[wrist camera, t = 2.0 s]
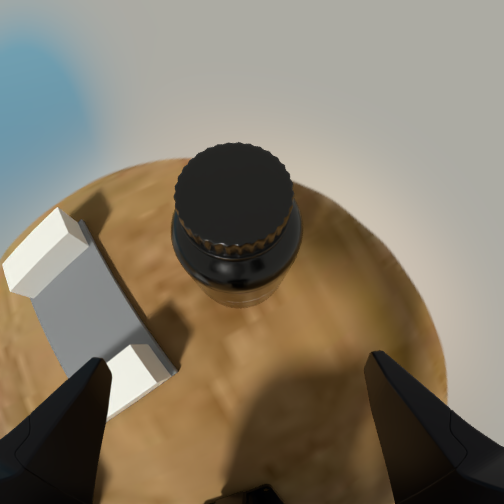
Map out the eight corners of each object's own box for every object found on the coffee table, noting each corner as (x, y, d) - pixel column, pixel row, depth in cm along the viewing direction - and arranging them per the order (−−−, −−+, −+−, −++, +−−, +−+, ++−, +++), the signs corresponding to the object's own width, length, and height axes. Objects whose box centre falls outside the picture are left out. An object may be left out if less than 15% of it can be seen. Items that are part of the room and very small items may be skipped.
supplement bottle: (245, 328, 21) (237, 318, 9) (179, 269, 22) (114, 202, 11) (302, 260, 22) (350, 183, 11) (237, 208, 24) (226, 103, 12)
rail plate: (178, 371, 20) (162, 378, 16) (102, 424, 18) (78, 436, 14) (84, 221, 23) (61, 203, 20) (25, 277, 22) (-1, 267, 18)
